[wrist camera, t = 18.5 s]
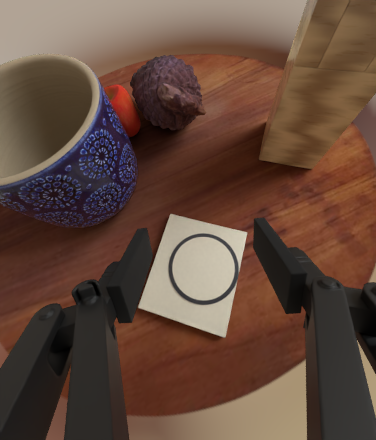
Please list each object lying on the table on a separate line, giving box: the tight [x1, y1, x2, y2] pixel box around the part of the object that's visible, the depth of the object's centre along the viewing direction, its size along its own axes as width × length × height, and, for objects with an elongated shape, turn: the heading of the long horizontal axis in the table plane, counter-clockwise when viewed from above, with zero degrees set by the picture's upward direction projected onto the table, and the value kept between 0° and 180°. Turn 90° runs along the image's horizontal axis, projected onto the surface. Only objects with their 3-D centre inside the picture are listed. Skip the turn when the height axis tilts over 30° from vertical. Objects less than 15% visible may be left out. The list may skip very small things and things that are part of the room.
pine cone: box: [130, 55, 206, 130], centre depth 33 cm, size 18×10×10 cm
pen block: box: [259, 0, 376, 169], centre depth 22 cm, size 8×8×22 cm
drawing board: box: [138, 214, 247, 338], centre depth 26 cm, size 11×13×1 cm
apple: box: [104, 85, 141, 138], centre depth 33 cm, size 6×6×8 cm
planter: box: [0, 54, 138, 228], centre depth 26 cm, size 16×16×15 cm
